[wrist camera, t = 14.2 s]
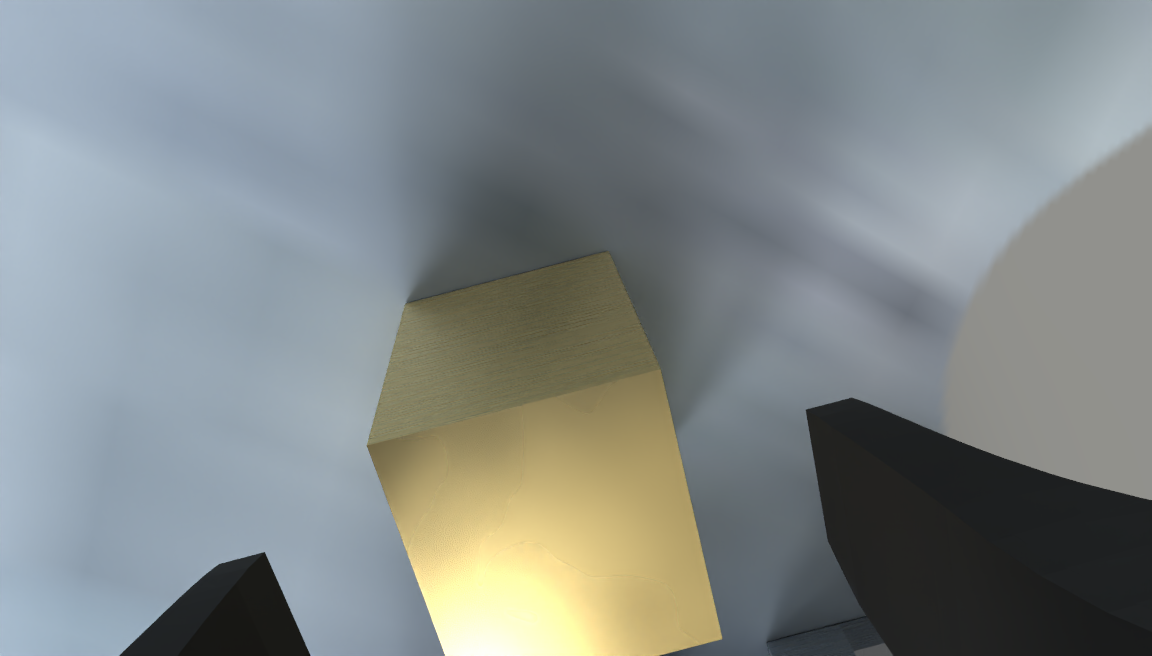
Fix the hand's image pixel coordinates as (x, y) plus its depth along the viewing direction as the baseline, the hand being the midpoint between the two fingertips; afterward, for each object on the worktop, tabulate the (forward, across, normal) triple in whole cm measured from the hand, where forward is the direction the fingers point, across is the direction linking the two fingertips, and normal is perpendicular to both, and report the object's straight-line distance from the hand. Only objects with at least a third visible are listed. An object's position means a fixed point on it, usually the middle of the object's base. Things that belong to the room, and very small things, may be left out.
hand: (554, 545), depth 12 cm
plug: (+5, 0, +5) cm, 7 cm away
